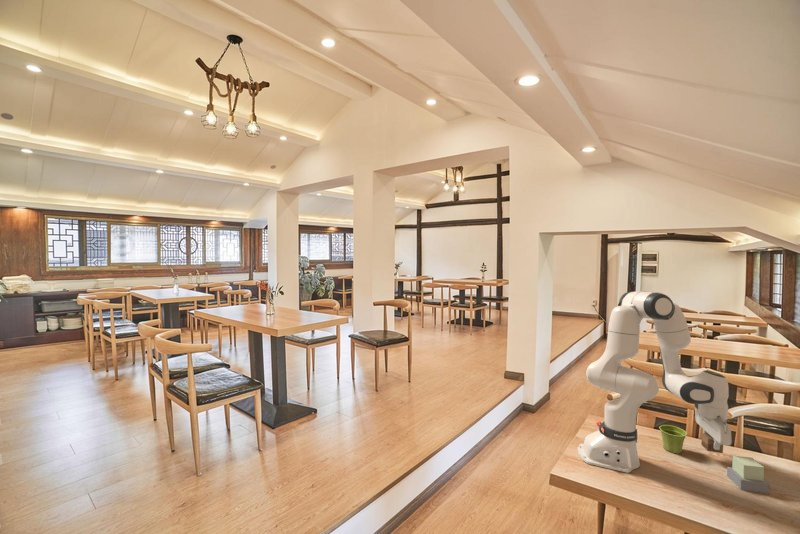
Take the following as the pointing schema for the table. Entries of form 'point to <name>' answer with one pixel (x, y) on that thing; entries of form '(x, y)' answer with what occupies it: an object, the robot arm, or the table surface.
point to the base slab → (747, 482)
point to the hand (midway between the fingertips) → (711, 444)
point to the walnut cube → (709, 443)
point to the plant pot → (672, 438)
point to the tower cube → (748, 468)
